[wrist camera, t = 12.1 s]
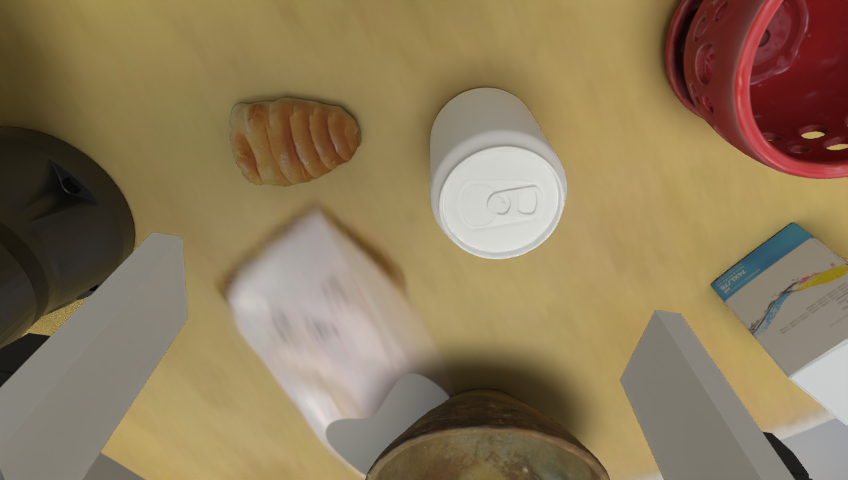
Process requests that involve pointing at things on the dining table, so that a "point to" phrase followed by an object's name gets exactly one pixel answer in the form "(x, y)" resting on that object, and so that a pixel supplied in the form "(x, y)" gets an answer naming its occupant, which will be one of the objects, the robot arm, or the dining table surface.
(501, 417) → the bowl
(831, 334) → the ink box
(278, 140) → the pastry
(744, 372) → the dining table surface
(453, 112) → the beverage can
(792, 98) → the plant pot
